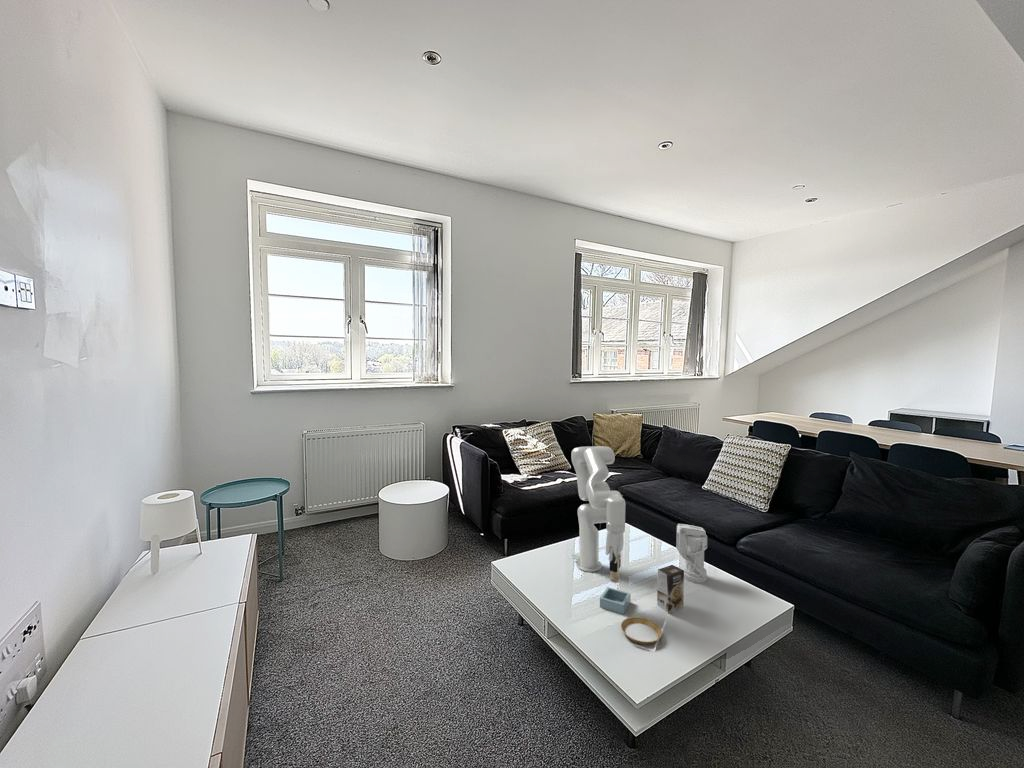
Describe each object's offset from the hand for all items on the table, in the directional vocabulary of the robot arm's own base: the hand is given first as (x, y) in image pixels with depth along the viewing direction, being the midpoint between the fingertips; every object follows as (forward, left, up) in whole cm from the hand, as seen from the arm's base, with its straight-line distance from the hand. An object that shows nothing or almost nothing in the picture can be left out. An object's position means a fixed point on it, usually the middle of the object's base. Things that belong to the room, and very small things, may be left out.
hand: (615, 568), depth 175 cm
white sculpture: (+24, +41, -16) cm, 50 cm away
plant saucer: (+14, -13, -16) cm, 26 cm away
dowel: (0, 0, -5) cm, 5 cm away
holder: (0, 0, -16) cm, 16 cm away
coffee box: (+20, +11, -16) cm, 28 cm away
